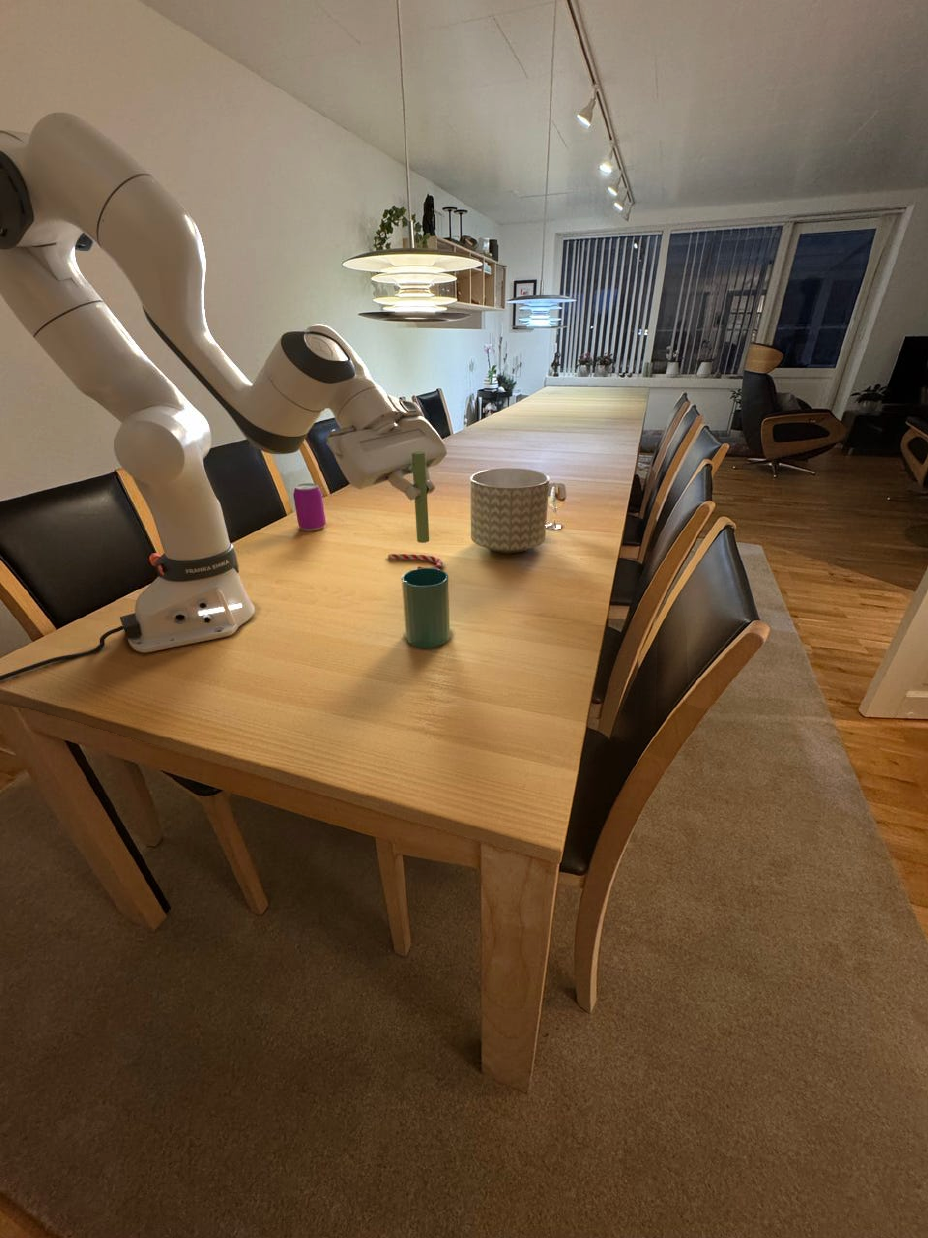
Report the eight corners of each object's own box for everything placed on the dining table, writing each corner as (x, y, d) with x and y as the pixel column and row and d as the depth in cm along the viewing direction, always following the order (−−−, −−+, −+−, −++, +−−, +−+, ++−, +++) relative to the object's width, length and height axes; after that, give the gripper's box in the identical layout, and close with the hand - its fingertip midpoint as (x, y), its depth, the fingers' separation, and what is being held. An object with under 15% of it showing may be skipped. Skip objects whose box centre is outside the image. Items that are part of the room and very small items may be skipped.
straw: (421, 543, 83) (416, 454, 76) (414, 540, 84) (409, 452, 78) (431, 541, 84) (427, 452, 77) (425, 537, 85) (420, 450, 79)
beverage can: (316, 532, 144) (310, 490, 139) (293, 530, 147) (286, 488, 141) (331, 524, 151) (325, 483, 145) (308, 521, 153) (302, 481, 147)
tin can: (420, 653, 90) (416, 591, 84) (398, 634, 95) (393, 574, 90) (458, 639, 94) (457, 579, 88) (434, 621, 99) (432, 564, 94)
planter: (481, 532, 143) (482, 466, 135) (549, 538, 139) (554, 470, 130) (461, 557, 128) (460, 484, 119) (537, 565, 123) (542, 490, 114)
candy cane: (394, 549, 129) (448, 557, 124) (395, 554, 130) (448, 562, 125) (378, 560, 123) (434, 570, 118) (378, 565, 124) (434, 575, 119)
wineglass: (557, 522, 150) (561, 481, 144) (567, 528, 146) (571, 486, 140) (539, 524, 149) (542, 483, 143) (548, 531, 144) (552, 488, 138)
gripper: (328, 417, 71) (387, 498, 71) (423, 401, 85) (471, 469, 85) (312, 447, 75) (367, 524, 75) (404, 427, 90) (450, 491, 89)
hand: (423, 494), depth 80 cm, fingers closed on straw, 2 cm apart
